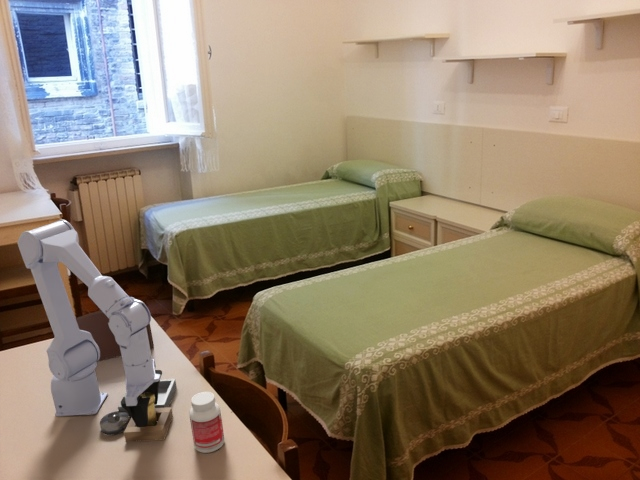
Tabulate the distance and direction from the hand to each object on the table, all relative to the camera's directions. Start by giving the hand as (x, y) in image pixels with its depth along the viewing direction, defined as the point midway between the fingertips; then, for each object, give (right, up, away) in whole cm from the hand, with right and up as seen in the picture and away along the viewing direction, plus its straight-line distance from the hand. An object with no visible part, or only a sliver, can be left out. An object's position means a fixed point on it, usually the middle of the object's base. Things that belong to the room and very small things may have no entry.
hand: (147, 414), depth 122 cm
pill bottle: (+14, -5, -5) cm, 16 cm away
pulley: (-8, -3, +3) cm, 9 cm away
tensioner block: (0, -3, +1) cm, 4 cm away
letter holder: (-20, +7, +36) cm, 42 cm away
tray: (-3, 0, +11) cm, 11 cm away
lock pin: (0, -3, +1) cm, 4 cm away
